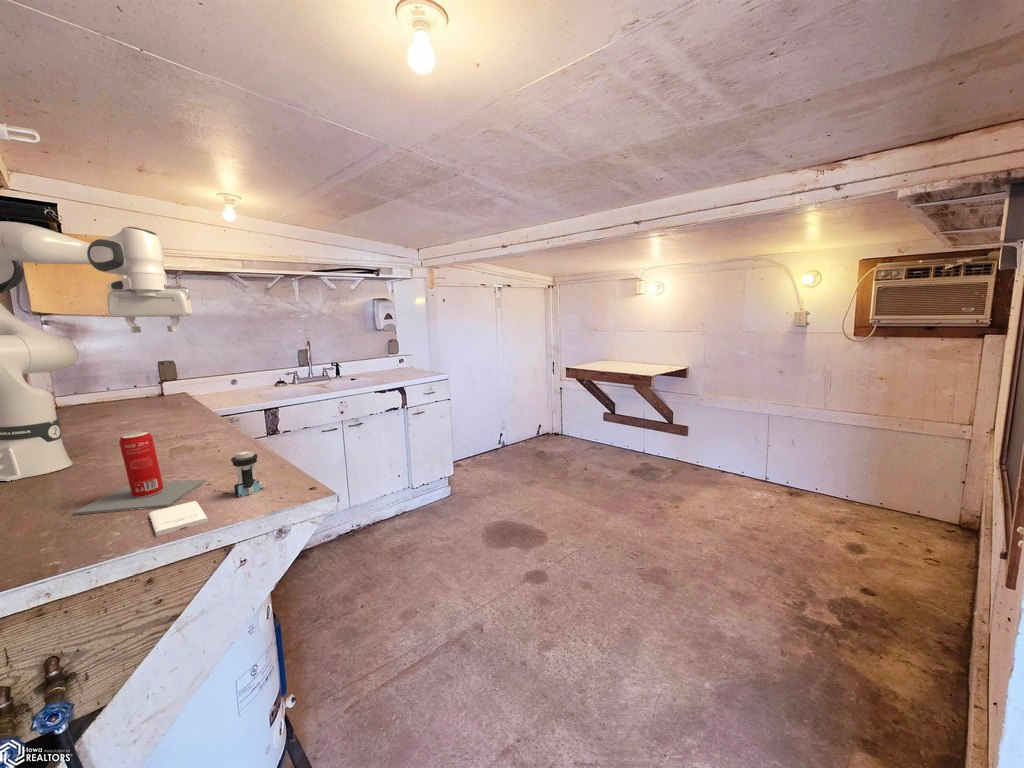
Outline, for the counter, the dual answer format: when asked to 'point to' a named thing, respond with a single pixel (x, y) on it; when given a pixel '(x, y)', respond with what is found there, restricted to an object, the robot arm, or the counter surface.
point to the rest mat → (126, 501)
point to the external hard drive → (177, 517)
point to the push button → (246, 473)
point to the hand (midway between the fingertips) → (154, 332)
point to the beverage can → (141, 464)
